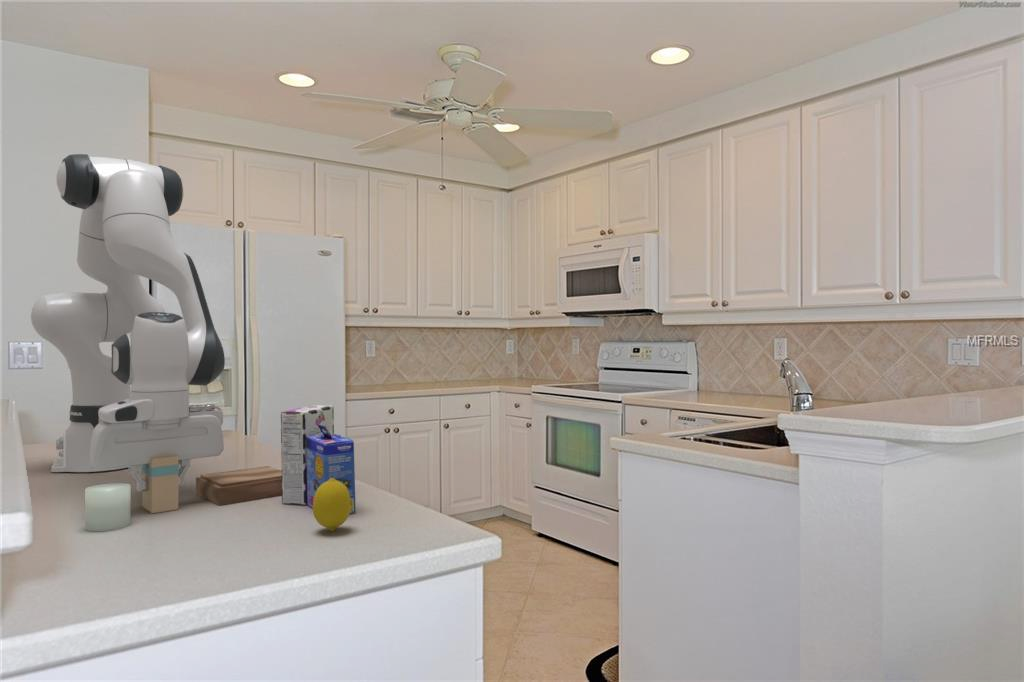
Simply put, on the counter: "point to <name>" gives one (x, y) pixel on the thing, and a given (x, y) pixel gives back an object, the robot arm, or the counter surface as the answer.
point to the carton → (161, 484)
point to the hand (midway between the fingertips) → (160, 488)
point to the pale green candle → (107, 507)
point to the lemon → (331, 504)
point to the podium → (240, 485)
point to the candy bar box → (300, 447)
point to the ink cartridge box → (330, 463)
